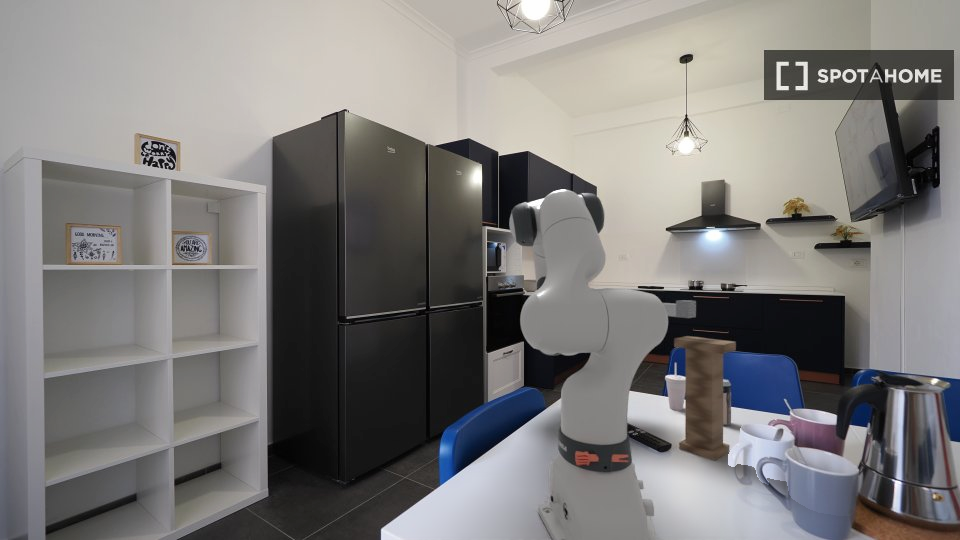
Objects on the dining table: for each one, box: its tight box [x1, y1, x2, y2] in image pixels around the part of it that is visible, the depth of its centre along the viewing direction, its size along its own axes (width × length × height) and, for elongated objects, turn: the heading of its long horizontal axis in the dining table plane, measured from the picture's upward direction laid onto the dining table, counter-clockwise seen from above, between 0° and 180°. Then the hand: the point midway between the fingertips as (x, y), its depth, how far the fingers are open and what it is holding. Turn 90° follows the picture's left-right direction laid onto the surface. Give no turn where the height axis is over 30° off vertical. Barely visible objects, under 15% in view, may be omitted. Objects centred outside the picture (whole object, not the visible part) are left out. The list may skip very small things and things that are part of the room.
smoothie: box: [664, 362, 686, 412], centre depth 127 cm, size 6×6×14 cm
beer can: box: [723, 378, 732, 426], centre depth 115 cm, size 5×5×12 cm
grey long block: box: [662, 299, 697, 319], centre depth 107 cm, size 18×4×4 cm, turn 39°
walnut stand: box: [673, 335, 737, 462], centre depth 97 cm, size 11×8×26 cm
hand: (636, 305), depth 111 cm, fingers closed on grey long block, 3 cm apart
